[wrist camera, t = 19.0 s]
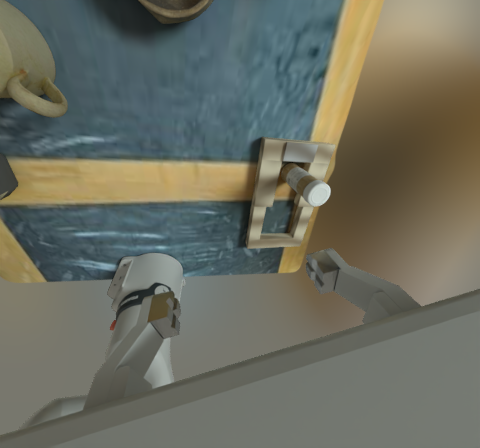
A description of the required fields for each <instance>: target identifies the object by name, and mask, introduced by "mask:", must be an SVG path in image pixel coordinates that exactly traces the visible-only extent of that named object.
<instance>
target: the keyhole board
mask: <svg viewBox="0 0 480 448" xmlns="http://www.w3.org/2000/svg"><path fill="white" fill-rule="evenodd" d="M334 148H335V145H334V144H331V143H325V142H314V141H302V140H291V139H279V138H268V137H262V139H261V146H260V152H259V158H258V165H257V171H256V178H255V184H254V191H253V197H252V204H251V210H250V217H249V223H248V230H247V236H246V246H247V249H249V248H269V247H290V246H300V245H301V242H302V239H303V236H304V233H305V230H306V228H307V225H308V222H309V219H310V216H311V213H312V211H313V208H314V206H311V205H310V204H308V203H307V202H306V201H305V200H304V198H303V197H302V196H301V195H300V194H298V193H296V196H295V200H294V203H295V204H296V205H297V206H298V207H297V210H296V214H295V217H294V220H293V224H292V227H291V230H290V233H275V234H261V230H262V225H263V220H264V215H265V210H266V207H272V205H273V200H274V195H275V191H276V186H277V182H278V177H279V173H280V168H281V164H282V161H290V162H305V165H304V168H303V169H304V170H305V171H307V172H308V173H310V174H311V175H313V176H314V177H315V178H316V179H318V180H321V181H323V179H324V176H325V174H326V171H327V168H328V165H329V162H330V159H331V157H332V154H333V151H334Z"/></svg>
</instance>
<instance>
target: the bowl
mask: <svg viewBox="0 0 480 448" xmlns="http://www.w3.org/2000/svg"><path fill="white" fill-rule="evenodd" d="M138 1H139V2H140V3H141V4H142V5H143V6H144V7H145V8H146V9H147V10H148V11H149V12H150V13H151V14H152V15H153V16H154V17H155V18H156V19H157V20H158V21H159V22H161V23H163V24H169V23H179V22H184V21H189V20H192V19H195V18H196V17H198V16H199V15H201V14H202V13H203V12H204V11H205V10H206V9H207V8H208V7H209V6H210V5H211V3H212V2H213V0H138Z"/></svg>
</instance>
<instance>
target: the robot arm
mask: <svg viewBox="0 0 480 448" xmlns="http://www.w3.org/2000/svg"><path fill="white" fill-rule="evenodd" d="M306 259H307V261H308V262H307V263H306V271H307V274H308V276H309V277H310V279H312V280H313V281H315V287H316V288H317V290H318V291H319V293H320V294H323V293H327V292H331V291H334V292H336V293H337V294H339V295H341V296H342V297H344V298H346V299H347V300H348V301H350V302H351V303H353V304H355V305H356V306H358V307H359V308H361V309H362V310H364V311H365V312H366V313H365V315H364V318H363V323H364V324H363V325H360V326H356V327H353V328H350V329H346V330H343V331H340V332H337V333H333V334H330V335H327V336H324V337H320V338H317V339H314V340H310V341H307V342H304V343H301V344H297V345H294V346H291V347H287V348H284V349H281V350H278V351H275V352H271V353H268V354H265V355H261V356H258V357H255V358H251V359H248V360H245V361H242V362H239V363H235V364H232V365H228V366H225V367H222V368H219V369H216V370H212V371H209V372H206V373H202V374H199V375H196V376H193V377H190V378H186V379H183V380H179V381H176V382H175V381H174V377H173V372H172V367H171V360H170V340H171V337H172V336H175V335H179V329H180V322H179V320H178V318H179V316H180V312H181V310H180V304H179V300H180V295H181V288H182V287H184V285H185V283H186V281H185V279H184V277H183V269H182V266H181V264H180V263H179V262H178V261H177V260H176V259H175V258H173V257H171V256H169V255H165V254H161V253H148V254H143V255H140V256H127V257H123V258H122V259H121V262H120V264H119V266H118V269H117V271H116V273H115V275H114V278H113V280H112V282H111V285H110V287H109V289H108V293H107V295H108V296H109V297H111V298H112V299H114V301H113V303H112V306H111V307H112V309H113V310H114V311H115V312H116V320H114V321H113V323H112V324H111V327H110V330H113V333H112V336H111V340H110V342H109V345H108V348H107V351H106V358H105V363H104V364H103V365H102V366H101V368H100V369H99V370H98V371H97V373H96V374H95V377H94V380H93V382H92V385H91V388H90V391H89V394H88V395H80V396H72V397H65V398H58V399H54V400H52V401H51V402H49V403H48V404H46V405H45V406H43V407H42V408H41V409H40V410H38V411H37V412H36V413H34V414H33V415H32V416H31V417H30V418H29V419H28V420H27V421H26V422H25V423H24V424H23V425H22V426H21V427H20V428H19V429H18V430H16V431H13V432H9V433H6V434H3V435H0V448H480V289H477V290H474V291H471V292H468V293H464V294H461V295H458V296H455V297H451V298H448V299H445V300H441V301H438V302H435V303H431V304H429V305H425V306H422V307H421V306H420V305H419V304H418V303H417V302H416V301H415V300H414V299H412V297H411V296H409V295H408V294H407V293H406V292H405V291H404V290H403V289H402V288H400V287H399V286H398V285H396V284H393V283H391V282H388V281H386V280H384V279H381V278H379V277H377V276H374V275H372V274H369V273H367V272H364V271H362V270H360V269H357V268H355V267H350V266H348V264H347V263H346V262H345V261H344V260H343V259H342V258H341V257H340V256H339V255H338V254H337V253H336V252H335V251H334V250H333V249H332V248H330V249H326V250H322V251H318V252H315V253H311V254H308V255H307V258H306Z"/></svg>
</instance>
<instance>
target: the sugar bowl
mask: <svg viewBox="0 0 480 448" xmlns="http://www.w3.org/2000/svg"><path fill="white" fill-rule="evenodd" d="M55 74H56V70H55V62H54V59H53V56H52V53H51V51H50V48H49V46H48V44H47V43H46V41H45V39H44V38H43V36H42V35H41V33H40V32H39V30H38V29H37V28H36V27H35V25H34V24H33V23H32V22H31V21H30V20H29V19H28V18H27V17H26V16H25V15H24V14H23V13H22V12H20V11H19V10H18V9H17V8H15V7H14V6H12V5H11V4H10V3H8V2H6V1H5V0H0V98H13V99H14V100H15V101H16V102H18V103H19V104H21V105H22V106H23V107H25V108H27V109H29V110H31V111H33V112H35V113H38V114H40V115H43V116H47V117H54V118H55V117H60V116H63V115H64V114H65V113H66V111H67V106H68V105H67V101H66V99H65V97H64V96H63V94H62V93H61V92H60V91H59V89H58V88H57V87H56V86H55V85H54V84H53V83H54V80H55ZM43 94H46V95H47V96H48V97H49V98H50V99H51V100H52V102H53V103H52V102H50V101H47V100H44V99H42V98H40V97H38V96H40V95H43Z"/></svg>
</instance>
